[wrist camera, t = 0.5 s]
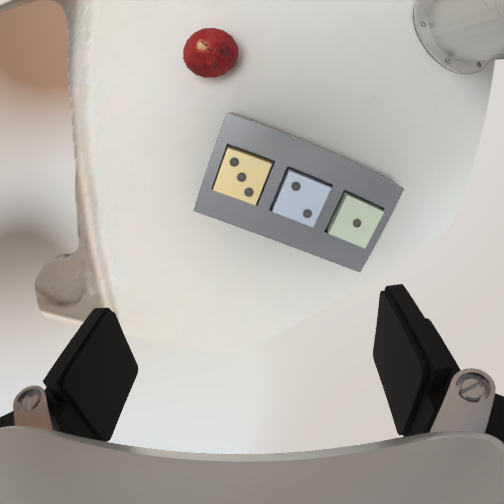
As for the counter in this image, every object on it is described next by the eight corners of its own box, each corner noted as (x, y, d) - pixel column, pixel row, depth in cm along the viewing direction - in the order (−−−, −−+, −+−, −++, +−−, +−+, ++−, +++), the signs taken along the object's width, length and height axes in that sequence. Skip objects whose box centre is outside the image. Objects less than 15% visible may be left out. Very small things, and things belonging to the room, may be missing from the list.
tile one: (343, 190, 35) (347, 195, 33) (378, 206, 36) (384, 212, 34) (326, 227, 38) (328, 234, 36) (361, 241, 38) (365, 249, 36)
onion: (248, 44, 31) (242, 28, 24) (230, 86, 33) (218, 80, 26) (203, 30, 30) (186, 13, 23) (185, 72, 33) (163, 64, 26)
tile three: (229, 145, 34) (227, 148, 32) (271, 161, 35) (271, 164, 33) (215, 185, 36) (212, 190, 34) (256, 200, 37) (255, 206, 35)
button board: (230, 112, 35) (226, 112, 32) (394, 181, 37) (404, 188, 34) (199, 202, 40) (193, 210, 37) (354, 259, 42) (359, 272, 39)
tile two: (288, 167, 35) (289, 171, 33) (328, 184, 35) (331, 188, 33) (272, 206, 37) (272, 212, 35) (311, 221, 37) (313, 228, 35)
